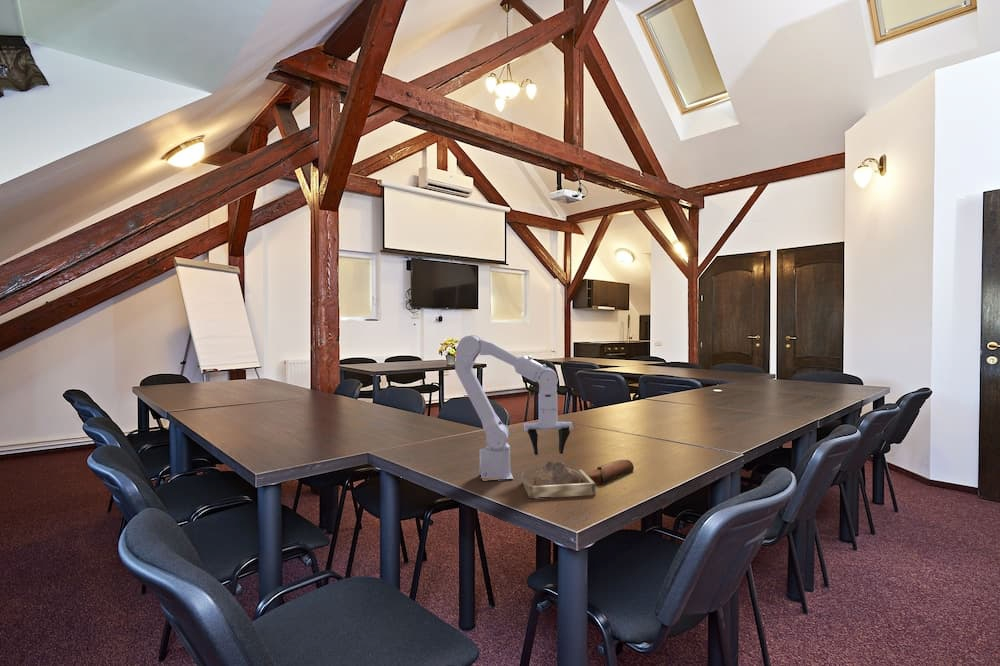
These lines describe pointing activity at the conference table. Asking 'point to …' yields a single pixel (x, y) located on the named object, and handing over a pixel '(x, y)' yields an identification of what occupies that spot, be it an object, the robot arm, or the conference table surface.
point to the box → (561, 488)
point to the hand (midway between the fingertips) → (548, 453)
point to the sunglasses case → (610, 471)
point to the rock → (555, 475)
